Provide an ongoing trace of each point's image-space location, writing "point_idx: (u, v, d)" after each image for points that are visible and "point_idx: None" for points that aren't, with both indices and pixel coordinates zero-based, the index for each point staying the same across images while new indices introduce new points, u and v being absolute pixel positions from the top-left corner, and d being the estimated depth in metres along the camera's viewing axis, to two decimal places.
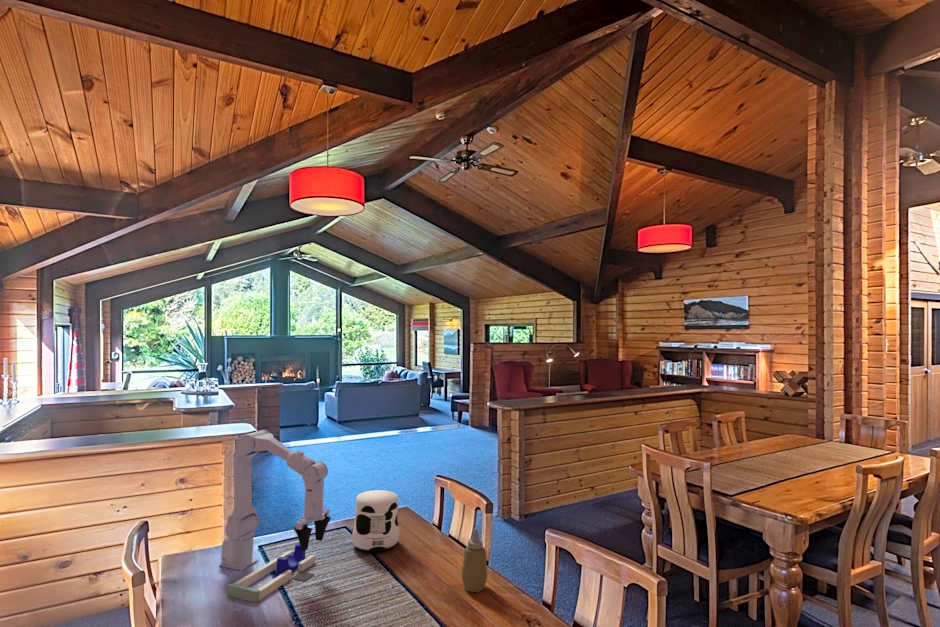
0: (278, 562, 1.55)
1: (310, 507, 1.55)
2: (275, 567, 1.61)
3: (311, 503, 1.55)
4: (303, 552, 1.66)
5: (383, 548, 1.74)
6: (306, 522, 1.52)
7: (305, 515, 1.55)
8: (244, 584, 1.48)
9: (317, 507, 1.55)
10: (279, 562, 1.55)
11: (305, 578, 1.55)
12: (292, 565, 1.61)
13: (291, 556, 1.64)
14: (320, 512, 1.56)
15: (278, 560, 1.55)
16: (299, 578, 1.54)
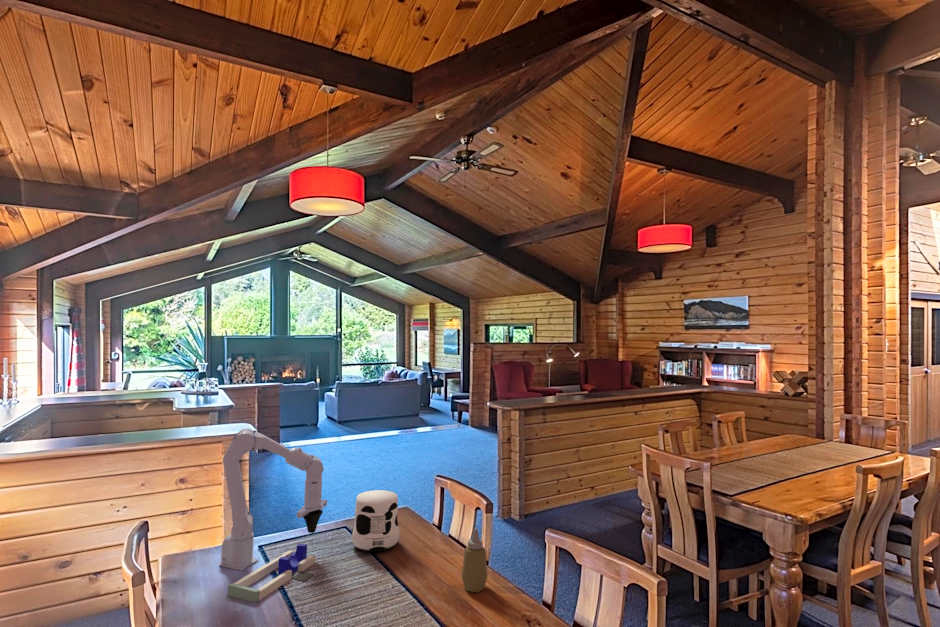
0: (280, 562, 1.55)
1: (310, 498, 1.70)
2: (275, 567, 1.61)
3: (316, 494, 1.71)
4: (305, 552, 1.66)
5: (383, 548, 1.74)
6: (306, 511, 1.68)
7: (305, 505, 1.71)
8: (244, 584, 1.48)
9: (316, 497, 1.71)
10: (281, 562, 1.55)
11: (305, 578, 1.55)
12: (294, 565, 1.61)
13: (293, 556, 1.64)
14: (319, 502, 1.72)
15: (280, 560, 1.55)
16: (299, 578, 1.54)
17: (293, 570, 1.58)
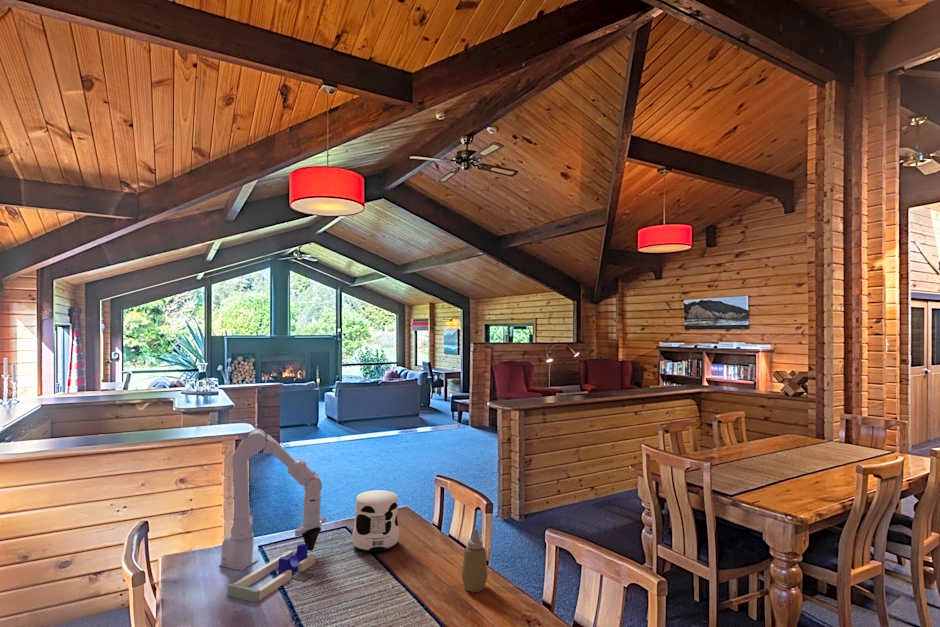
0: (280, 562, 1.55)
1: (308, 516, 1.70)
2: (275, 567, 1.61)
3: (314, 511, 1.70)
4: (306, 552, 1.66)
5: (383, 548, 1.74)
6: (305, 529, 1.67)
7: (304, 523, 1.70)
8: (244, 584, 1.48)
9: (314, 515, 1.70)
10: (281, 562, 1.55)
11: (305, 578, 1.55)
12: (294, 565, 1.61)
13: (293, 556, 1.65)
14: (317, 520, 1.71)
15: (280, 560, 1.56)
16: (299, 578, 1.54)
17: (293, 570, 1.59)
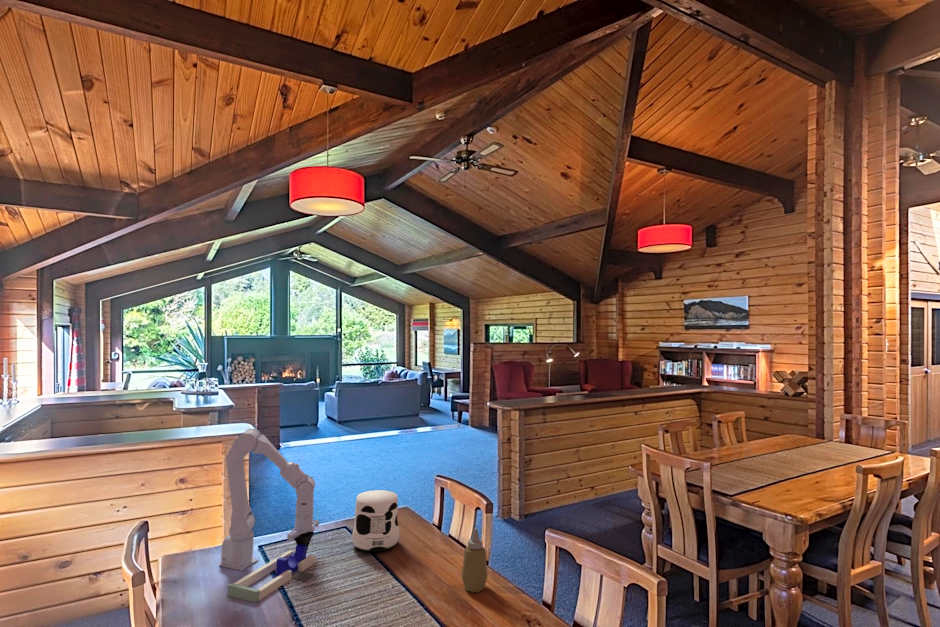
0: (278, 563, 1.55)
1: (301, 519, 1.66)
2: (275, 567, 1.61)
3: (306, 515, 1.66)
4: (304, 553, 1.65)
5: (383, 548, 1.74)
6: (297, 534, 1.63)
7: (296, 527, 1.66)
8: (244, 584, 1.48)
9: (307, 519, 1.66)
10: (279, 563, 1.54)
11: (305, 578, 1.55)
12: (292, 566, 1.60)
13: (292, 557, 1.64)
14: (310, 524, 1.67)
15: (278, 560, 1.55)
16: (299, 578, 1.54)
17: None
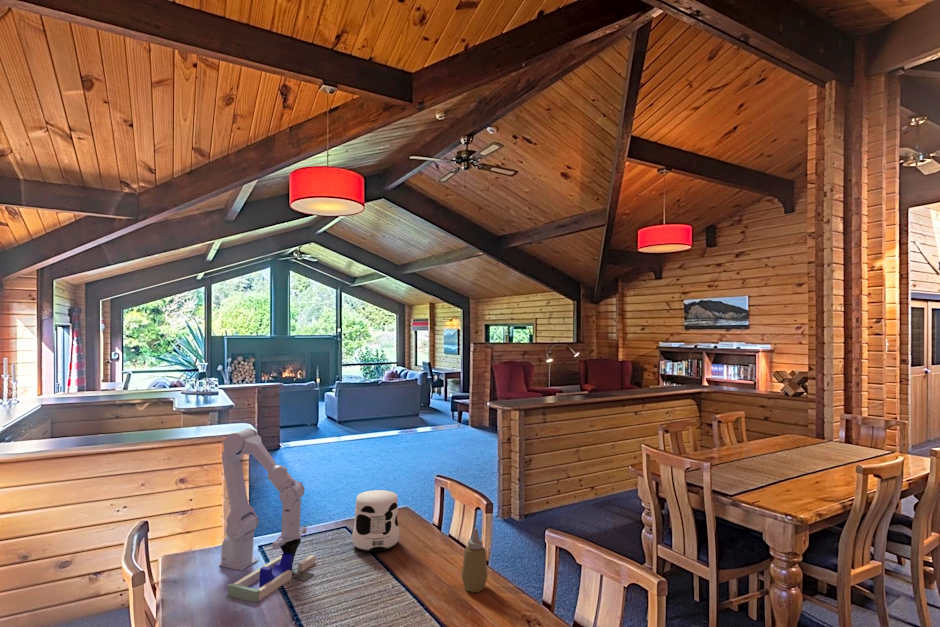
0: (261, 572, 1.48)
1: (287, 527, 1.59)
2: None
3: (289, 523, 1.59)
4: (290, 561, 1.58)
5: (383, 548, 1.74)
6: (283, 541, 1.57)
7: (282, 534, 1.60)
8: (244, 584, 1.48)
9: (294, 526, 1.60)
10: (262, 572, 1.48)
11: (305, 578, 1.55)
12: (277, 575, 1.53)
13: (277, 565, 1.57)
14: (297, 531, 1.61)
15: (261, 570, 1.48)
16: (299, 578, 1.54)
17: None
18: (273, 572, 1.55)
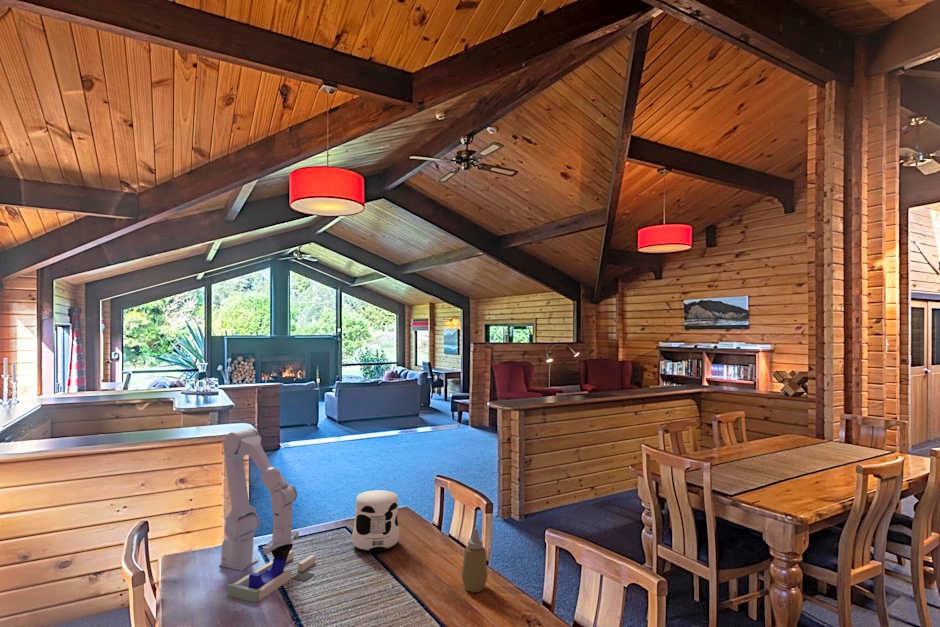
0: (250, 578, 1.44)
1: (278, 531, 1.55)
2: None
3: (278, 527, 1.55)
4: (282, 567, 1.54)
5: (383, 548, 1.74)
6: (274, 547, 1.53)
7: (273, 539, 1.56)
8: (244, 584, 1.48)
9: (285, 531, 1.56)
10: (251, 578, 1.44)
11: (305, 578, 1.55)
12: (267, 581, 1.49)
13: (268, 571, 1.53)
14: (288, 536, 1.57)
15: (250, 576, 1.44)
16: (299, 578, 1.54)
17: None
18: (263, 578, 1.51)
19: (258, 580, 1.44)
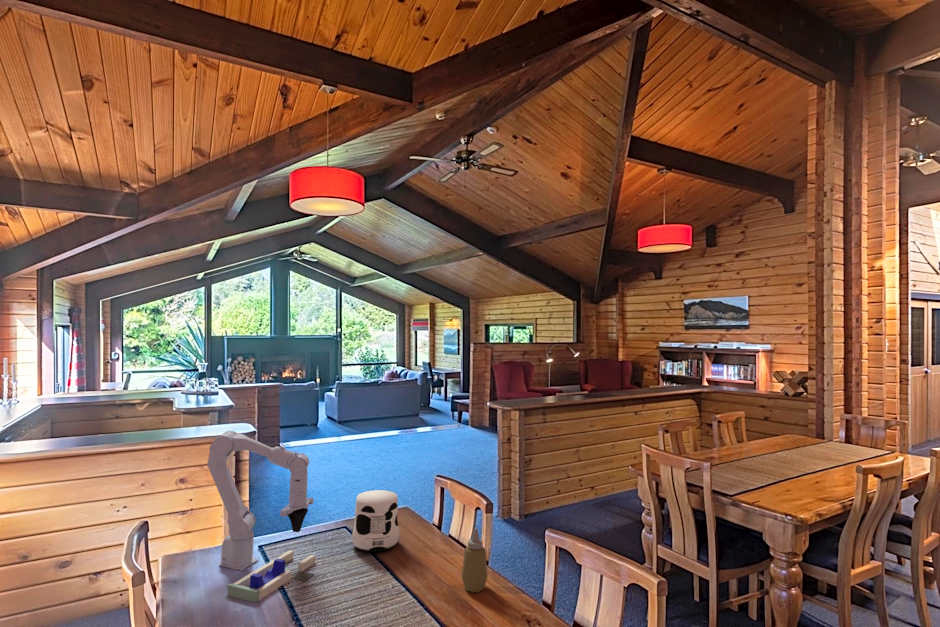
0: (251, 579, 1.44)
1: (294, 496, 1.65)
2: None
3: (299, 492, 1.66)
4: (283, 568, 1.54)
5: (383, 548, 1.74)
6: (290, 510, 1.63)
7: (290, 503, 1.66)
8: (244, 584, 1.48)
9: (301, 496, 1.66)
10: (252, 579, 1.44)
11: (305, 578, 1.55)
12: None
13: (269, 572, 1.53)
14: (304, 501, 1.67)
15: (251, 577, 1.44)
16: (299, 578, 1.54)
17: None
18: (264, 579, 1.51)
19: (259, 581, 1.44)
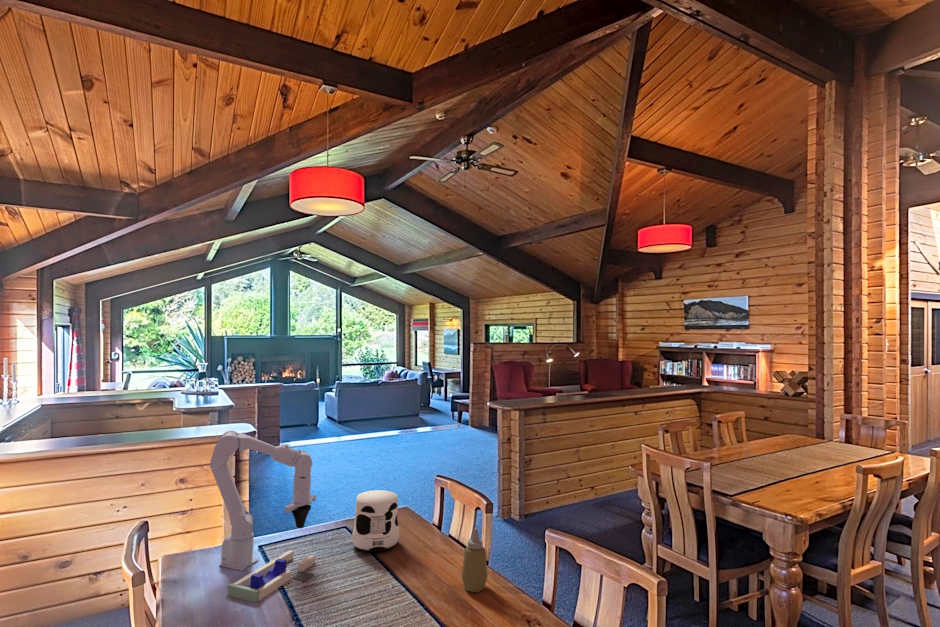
0: (252, 579, 1.44)
1: (298, 493, 1.69)
2: None
3: (304, 489, 1.70)
4: (284, 568, 1.54)
5: (383, 548, 1.74)
6: (294, 506, 1.66)
7: (294, 500, 1.69)
8: (244, 584, 1.48)
9: (304, 492, 1.70)
10: (253, 579, 1.44)
11: (305, 578, 1.55)
12: None
13: (270, 572, 1.53)
14: (307, 497, 1.71)
15: (252, 577, 1.44)
16: (299, 578, 1.54)
17: None
18: (265, 579, 1.51)
19: (259, 581, 1.44)
